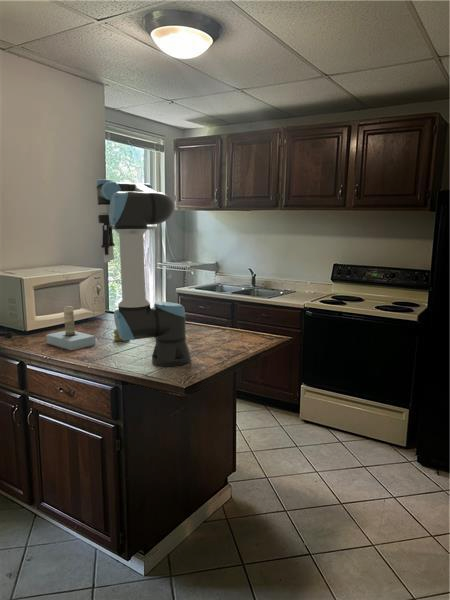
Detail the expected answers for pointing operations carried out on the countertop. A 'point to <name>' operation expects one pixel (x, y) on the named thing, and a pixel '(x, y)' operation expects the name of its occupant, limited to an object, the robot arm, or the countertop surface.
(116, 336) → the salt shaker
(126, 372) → the countertop surface
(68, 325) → the beech peg
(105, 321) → the countertop surface
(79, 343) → the slate board
